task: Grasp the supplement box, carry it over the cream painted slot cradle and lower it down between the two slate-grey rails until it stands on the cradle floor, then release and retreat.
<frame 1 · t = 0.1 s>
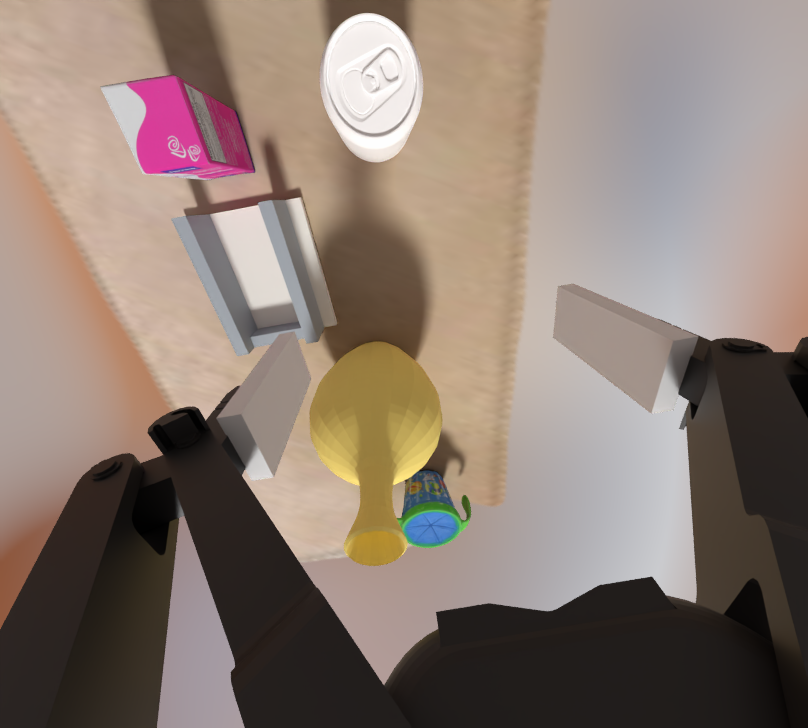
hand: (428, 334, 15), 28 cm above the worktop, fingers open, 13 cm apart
beverage can: (373, 119, 33), on the worktop
snack cup: (423, 480, 61), on the worktop
vase: (377, 370, 48), on the worktop
supplement box: (222, 148, 34), on the worktop
slot cradle: (269, 275, 40), on the worktop
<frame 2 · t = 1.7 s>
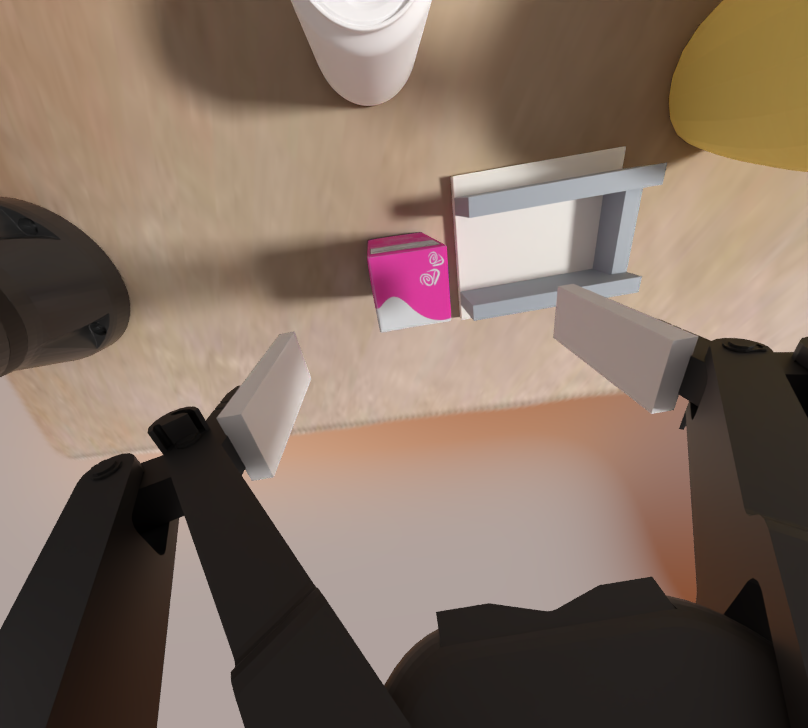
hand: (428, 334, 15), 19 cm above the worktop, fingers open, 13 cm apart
beverage can: (365, 43, 24), on the worktop
vase: (725, 75, 27), on the worktop
supplement box: (399, 263, 32), on the worktop
slot cradle: (530, 241, 32), on the worktop
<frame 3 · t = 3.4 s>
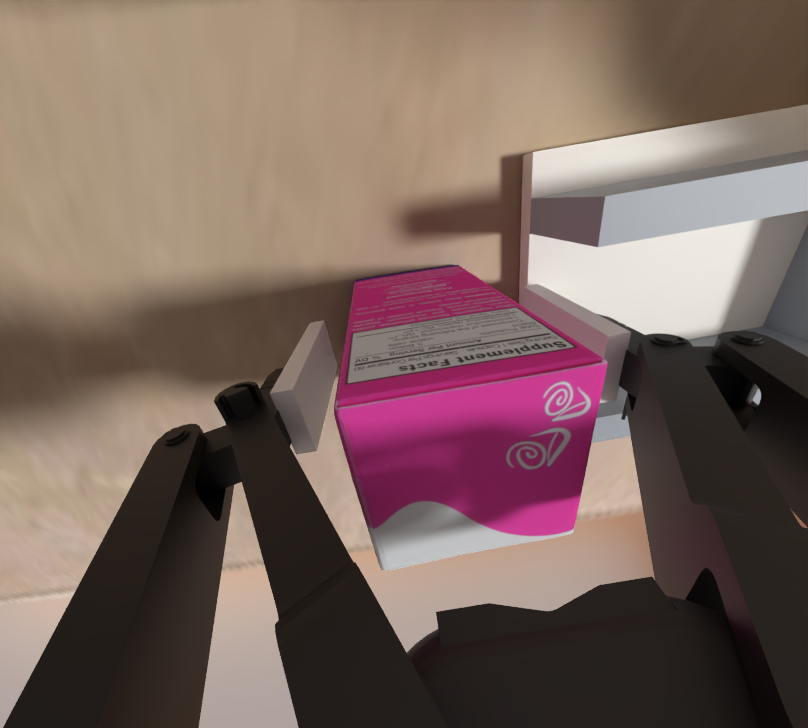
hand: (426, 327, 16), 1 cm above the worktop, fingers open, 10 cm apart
supplement box: (413, 320, 17), on the worktop
slot cradle: (657, 278, 17), on the worktop
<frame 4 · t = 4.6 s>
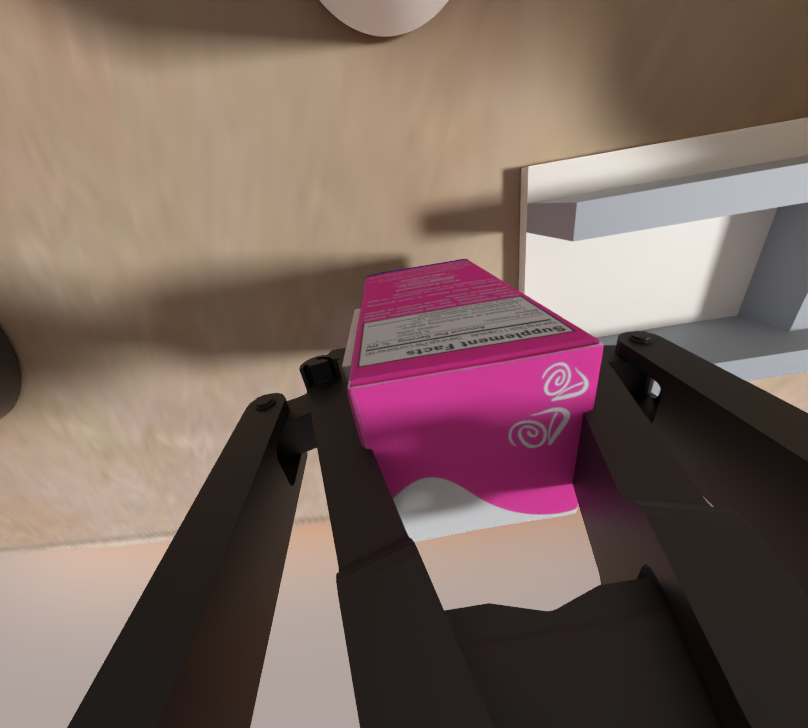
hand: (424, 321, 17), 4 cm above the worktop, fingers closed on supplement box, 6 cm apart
supplement box: (423, 314, 18), point 3 cm above the worktop, touching gripper
slot cradle: (640, 272, 20), on the worktop
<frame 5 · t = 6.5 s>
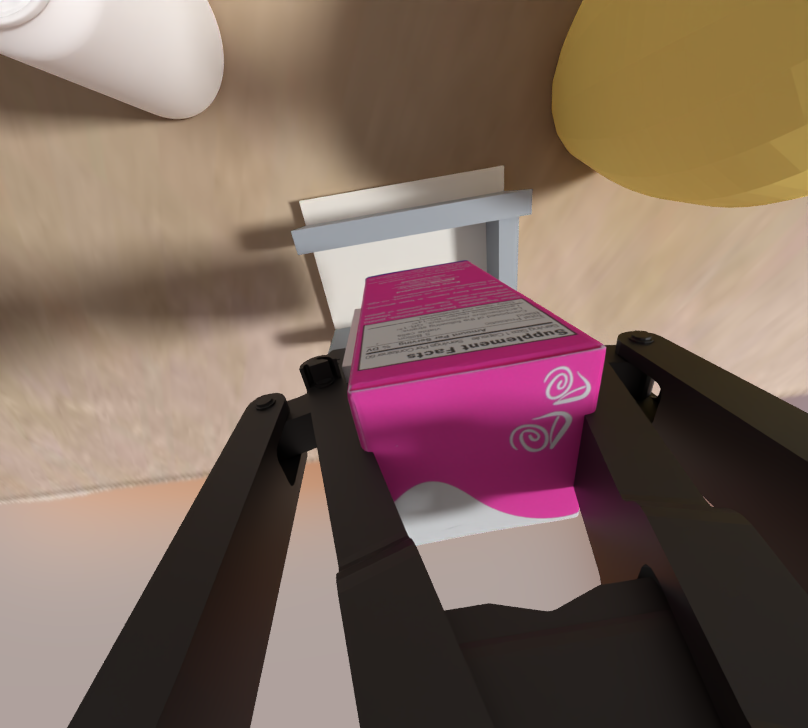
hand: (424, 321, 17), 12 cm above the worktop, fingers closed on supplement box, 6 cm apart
beverage can: (162, 43, 20), on the worktop
vase: (617, 82, 23), on the worktop
supplement box: (423, 315, 18), point 11 cm above the worktop, touching gripper
slot cradle: (412, 272, 28), on the worktop
when the fingers open (3 cm above the worktop, at t = 8.2 s): supplement box drops 1 cm, resting on slot cradle.
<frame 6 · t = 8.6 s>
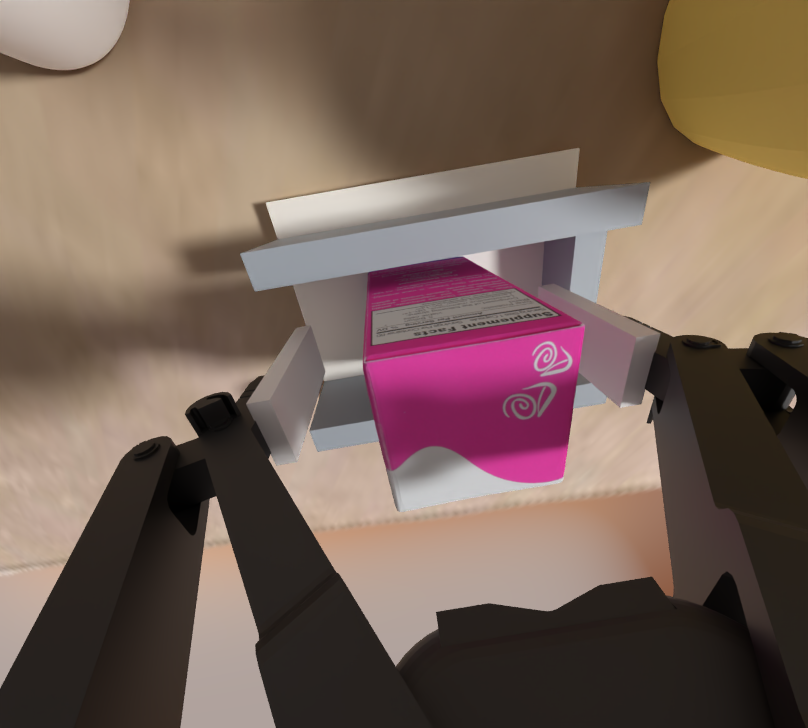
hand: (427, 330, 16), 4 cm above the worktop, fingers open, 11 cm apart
vase: (764, 16, 14), on the worktop
supplement box: (422, 308, 19), point 1 cm above the worktop, touching slot cradle
slot cradle: (433, 303, 19), on the worktop
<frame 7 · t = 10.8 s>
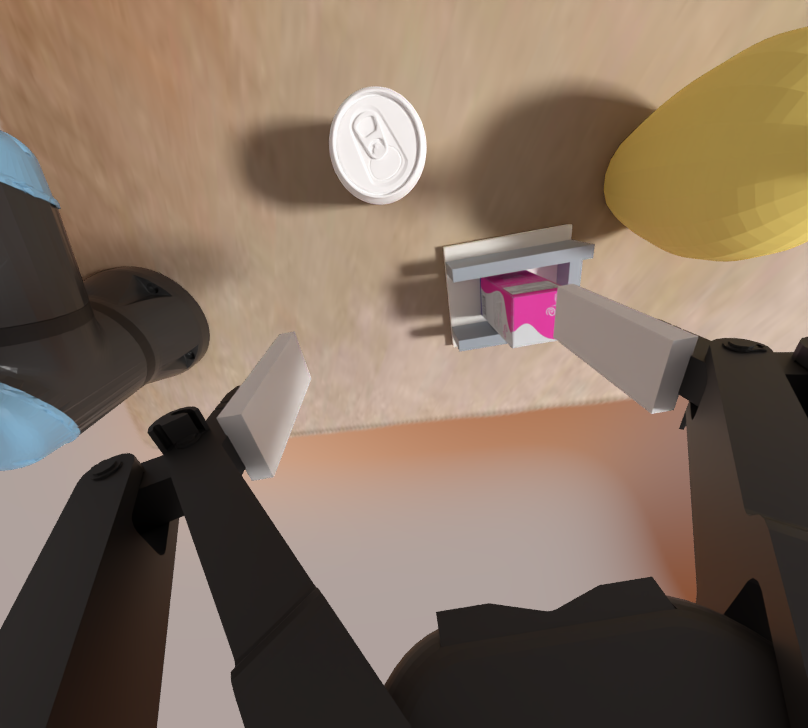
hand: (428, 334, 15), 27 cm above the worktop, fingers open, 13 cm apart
beverage can: (381, 164, 35), on the worktop
vase: (646, 173, 36), on the worktop
supplement box: (501, 291, 41), point 1 cm above the worktop, touching slot cradle
slot cradle: (505, 289, 42), on the worktop
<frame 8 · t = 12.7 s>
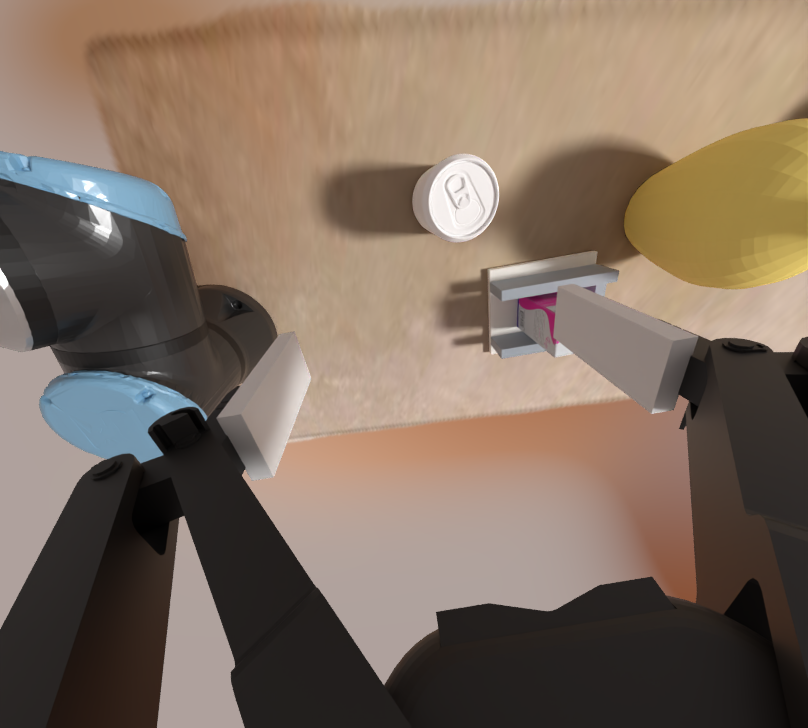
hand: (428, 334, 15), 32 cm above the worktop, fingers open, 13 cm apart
beverage can: (441, 200, 41), on the worktop
vase: (658, 210, 44), on the worktop
supplement box: (534, 306, 48), point 1 cm above the worktop, touching slot cradle
slot cradle: (537, 304, 49), on the worktop
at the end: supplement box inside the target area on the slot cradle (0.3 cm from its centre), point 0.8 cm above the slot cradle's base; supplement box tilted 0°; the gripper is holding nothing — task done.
